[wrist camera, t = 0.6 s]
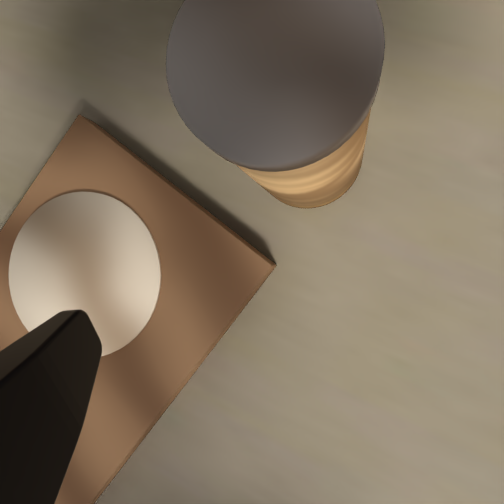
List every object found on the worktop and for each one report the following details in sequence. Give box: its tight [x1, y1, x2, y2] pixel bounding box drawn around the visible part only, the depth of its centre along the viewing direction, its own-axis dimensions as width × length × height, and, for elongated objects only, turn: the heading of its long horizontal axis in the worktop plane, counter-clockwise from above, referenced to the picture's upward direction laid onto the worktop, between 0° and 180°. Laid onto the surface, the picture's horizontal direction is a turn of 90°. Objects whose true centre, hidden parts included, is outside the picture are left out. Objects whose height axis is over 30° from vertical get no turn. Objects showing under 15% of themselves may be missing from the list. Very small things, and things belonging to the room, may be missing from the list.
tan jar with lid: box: [166, 0, 385, 208], centre depth 16 cm, size 5×5×11 cm
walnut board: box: [0, 115, 277, 504], centre depth 23 cm, size 16×12×2 cm
